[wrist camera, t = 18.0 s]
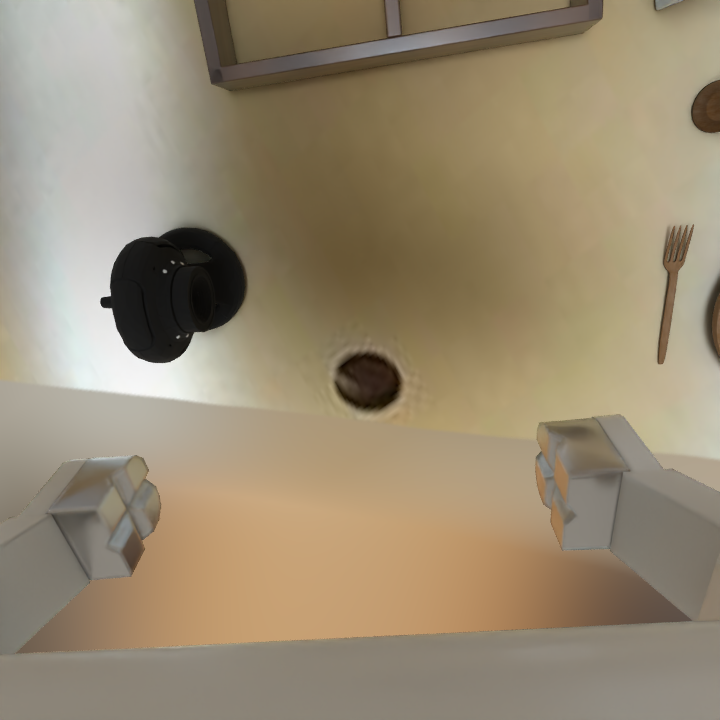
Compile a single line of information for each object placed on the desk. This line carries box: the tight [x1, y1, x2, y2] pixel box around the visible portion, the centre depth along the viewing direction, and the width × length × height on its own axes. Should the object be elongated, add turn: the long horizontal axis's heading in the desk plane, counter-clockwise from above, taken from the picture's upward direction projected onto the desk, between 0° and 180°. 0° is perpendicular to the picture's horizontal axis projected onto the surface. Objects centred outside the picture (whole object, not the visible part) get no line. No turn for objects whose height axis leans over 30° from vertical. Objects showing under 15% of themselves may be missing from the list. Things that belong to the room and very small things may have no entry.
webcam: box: [100, 228, 245, 363], centre depth 32 cm, size 8×8×10 cm
